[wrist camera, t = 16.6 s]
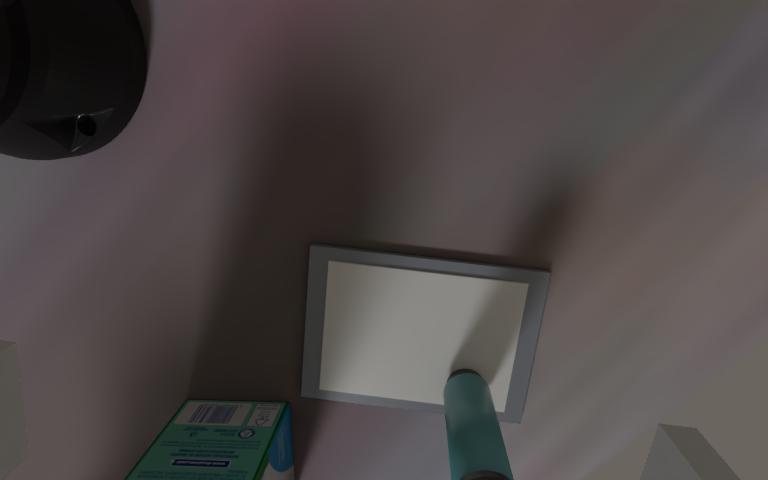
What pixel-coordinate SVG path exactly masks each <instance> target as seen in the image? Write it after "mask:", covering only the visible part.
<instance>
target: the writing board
mask: <svg viewBox="0 0 768 480" xmlns="http://www.w3.org/2000/svg"><path fill="white" fill-rule="evenodd" d="M550 275H551V273H550V271H549V270H541V269H532V268H523V267H514V266H506V265H497V264H488V263H479V262H471V261H462V260H453V259H444V258H436V257H427V256H418V255H409V254H400V253H392V252H383V251H374V250H365V249H357V248H348V247H339V246H330V245H322V244H313V243H312V244H311V245H310V256H309V272H308V289H307V305H306V321H305V337H304V353H303V369H302V385H301V397H308V398H317V399H325V400H333V401H341V402H349V403H357V404H365V405H373V406H381V407H389V408H397V409H405V410H413V411H421V412H429V413H437V414H445V408H444V398H443V391H444V387H445V385H446V382H447V379H448V377H449V376H450V375H451V374H452V373H453V372H455V371H457V370H459V369H471V370H474V371H476V372H477V373H479V374H480V375H481V377H482V378H483V379H484V380H485V381H486V382H487V384H488V386H489V388H490V392H491V396H492V400H493V403H494V407H495V411H496V415H497V419H498V421H502V422H510V423H518V424H520V423H521V418H522V413H523V408H524V403H525V398H526V393H527V388H528V383H529V379H530V374H531V369H532V364H533V359H534V354H535V349H536V344H537V339H538V334H539V329H540V324H541V319H542V315H543V310H544V305H545V300H546V295H547V290H548V285H549V280H550Z"/></svg>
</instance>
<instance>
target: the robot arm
mask: <svg viewBox="0 0 768 480" xmlns="http://www.w3.org/2000/svg"><path fill="white" fill-rule="evenodd" d="M145 74H146V54H145V45H144V40H143V35H142V31H141V27H140V24H139V21H138V18H137V15H136V13H135V11H134V8H133V6H132V4H131V2H130V0H0V153H1V154H5V155H9V156H13V157H17V158H22V159H31V160H54V159H61V158H68V157H74V156H80V155H84V154H87V153H90V152H93V151H95V150H97V149H99V148H101V147H103V146H105V145H106V144H108V143H109V142H111V141H112V140H113V139H114V138H115V137H117V136H118V135H119V134H120V133H121V132H122V130H123V129H124V128H125V127H126V126H127V124H128V123H129V121H130V120H131V118H132V117H133V115H134V113H135V111H136V109H137V107H138V104H139V102H140V99H141V96H142V92H143V88H144V82H145ZM28 454H29V449H28V440H27V432H26V423H25V415H24V406H23V397H22V389H21V380H20V371H19V363H18V354H17V345H16V342H9V341H1V340H0V480H3V479H4V478H5V477H6V476H7V475H8V474H9V473H10V472H11V471H12V470H13V469H14V468H15V467H16V466H17V465H18V464H19V463H20V462H21V461H22V460H23V459H24V458H25V457H26V456H27V455H28ZM640 480H740V479H739V477H738V476H737V475H736V474H735V473H734V472H733V470H732V469H731V468H730V467H729V466H728V464H727V463H726V462H725V461H724V460H723V459H722V457H720V455H719V454H718V453H717V452H716V451H715V449H714V448H713V447H712V446H711V445H710V444H709V442H708V441H707V440H706V439H705V438H704V437H703V435H702V434H701V433H700V432H699V431H698V430H697V429H696V428H688V427H681V426H673V425H665V424H659V425H658V428H657V431H656V434H655V437H654V440H653V443H652V446H651V449H650V452H649V455H648V458H647V461H646V463H645V466H644V469H643V472H642V475H641V478H640Z"/></svg>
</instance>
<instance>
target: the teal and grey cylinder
mask: <svg viewBox="0 0 768 480" xmlns="http://www.w3.org/2000/svg"><path fill="white" fill-rule="evenodd" d="M443 398H444V408H445V419H446V429H447V439H448V449H449V459H450V470H451V480H514V479H513V475H512V472H511V468H510V464H509V460H508V457H507V453H506V449H505V445H504V441H503V438H502V434H501V430H500V426H499V422H498V419H497V415H496V411H495V407H494V403H493V400H492V396H491V392H490V388H489V386H488V384H487V382H486V381H485V380H484V379H483V378H482V377H481V375H480V374H479V373H477V372H476V371H474V370H471V369H459V370H457V371H455V372H453V373H452V374H451V375H450V376H449V377H448V379H447V382H446V385H445V387H444V391H443Z"/></svg>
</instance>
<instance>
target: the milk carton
mask: <svg viewBox="0 0 768 480" xmlns="http://www.w3.org/2000/svg"><path fill="white" fill-rule="evenodd" d="M124 480H295V477H294V462H293V447H292V432H291V417H290V404H289V403H284V402H250V401H216V400H185V402H184V403H183V404H182V405H181V407H180V408H179V409H178V411H177V412H176V413H175V414H174V416H173V417H172V418H171V420H170V421H169V422H168V423H167V425H166V426H165V427H164V429H163V430H162V431H161V432H160V434H159V435H158V436H157V438H156V439H155V440H154V442H153V443H152V444H151V445H150V447H149V448H148V449H147V451H146V452H145V453H144V454H143V456H142V457H141V458H140V460H139V461H138V462H137V463H136V465H135V466H134V467H133V469H132V470H131V471H130V472H129V474H128V475H127V476H126V478H125V479H124Z"/></svg>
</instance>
